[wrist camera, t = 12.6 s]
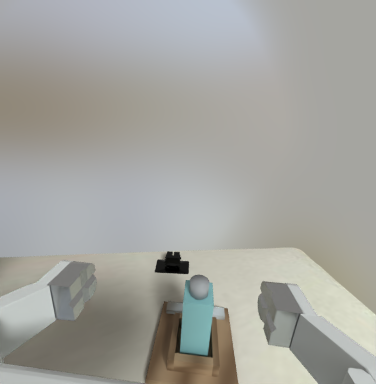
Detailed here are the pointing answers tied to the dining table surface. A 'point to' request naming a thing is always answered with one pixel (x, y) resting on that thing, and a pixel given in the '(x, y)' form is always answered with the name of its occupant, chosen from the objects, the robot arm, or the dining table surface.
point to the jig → (191, 364)
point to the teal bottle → (197, 316)
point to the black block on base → (172, 264)
